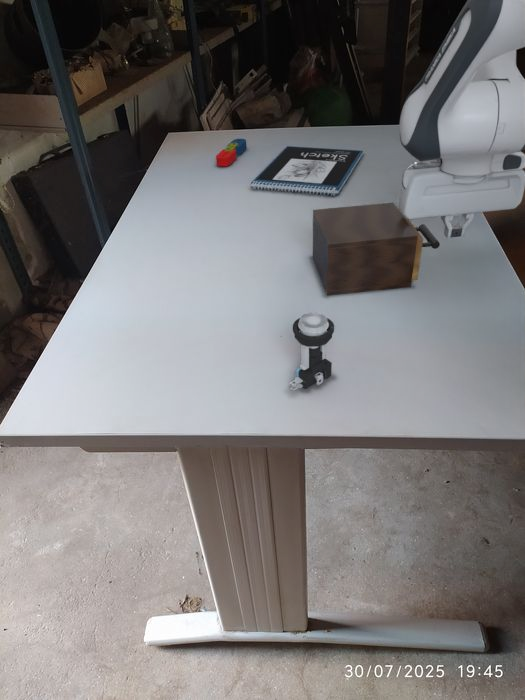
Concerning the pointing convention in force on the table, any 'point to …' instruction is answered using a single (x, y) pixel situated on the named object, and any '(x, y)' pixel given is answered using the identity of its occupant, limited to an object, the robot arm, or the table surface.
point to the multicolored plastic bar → (231, 152)
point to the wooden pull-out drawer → (422, 244)
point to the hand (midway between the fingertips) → (453, 235)
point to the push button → (312, 349)
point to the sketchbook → (309, 170)
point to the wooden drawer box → (363, 248)
